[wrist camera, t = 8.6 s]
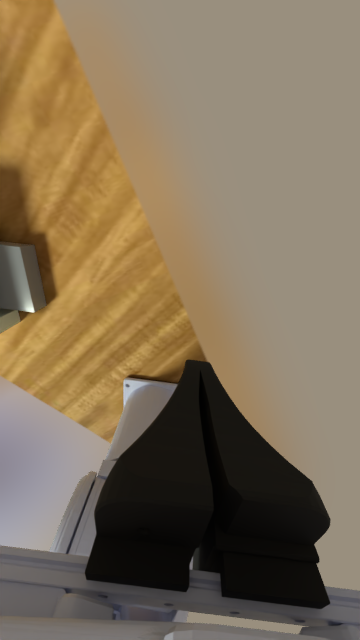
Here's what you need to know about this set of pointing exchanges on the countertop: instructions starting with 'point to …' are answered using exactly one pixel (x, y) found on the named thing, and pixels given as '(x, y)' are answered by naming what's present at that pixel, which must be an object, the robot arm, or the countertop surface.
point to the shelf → (8, 319)
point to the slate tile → (20, 278)
